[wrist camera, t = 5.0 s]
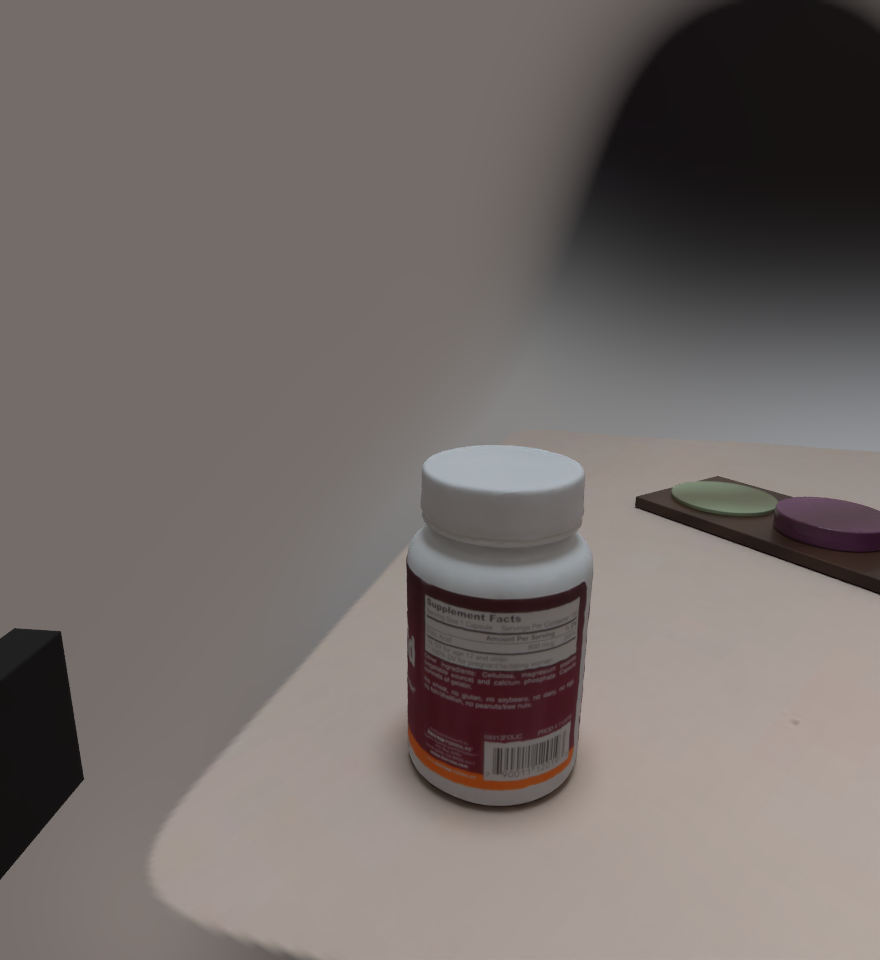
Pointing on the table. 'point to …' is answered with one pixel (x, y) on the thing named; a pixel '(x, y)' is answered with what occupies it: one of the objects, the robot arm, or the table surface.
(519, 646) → the pill bottle
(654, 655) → the table surface
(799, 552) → the board
